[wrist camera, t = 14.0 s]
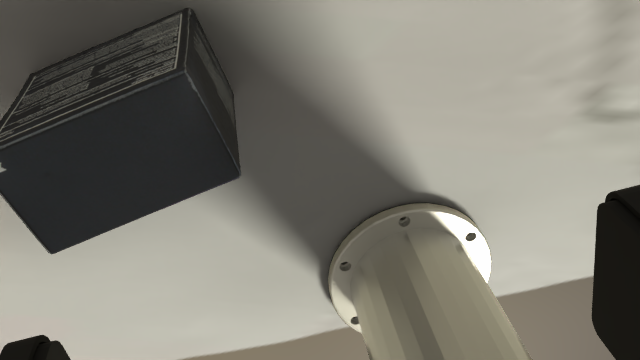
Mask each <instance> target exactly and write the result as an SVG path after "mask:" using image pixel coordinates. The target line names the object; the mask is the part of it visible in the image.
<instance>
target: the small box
mask: <svg viewBox="0 0 640 360" xmlns="http://www.w3.org/2000/svg"><path fill="white" fill-rule="evenodd" d="M240 176H241V170H240V164H239V153H238V143H237V134H236V120H235V110H234V94H233V92H232V90H231V88H230V86H229V83H228V81H227V79H226V77H225V75H224V72H223V71H222V69H221V67H220V64H219V62H218V60H217V58H216V56H215V54H214V52H213V50H212V48H211V46H210V44H209V42H208V40H207V38H206V36H205V34H204V31H203V29H202V27H201V25H200V23H199V21H198V19H197V17H196V15H195V13H194V11H193V10H192V9H190V8H186V9H184V10H182V11H179V12H177V13H174V14H172V15H169V16H167V17H165V18H162V19H160V20H157V21H155V22H153V23H150V24H148V25H146V26H143V27H141V28H138V29H135V30H133V31H131V32H129V33H127V34H124V35H122V36H119V37H117V38H115V39H113V40H110V41H108V42H105V43H103V44H101V45H98V46H96V47H92V48H90V49H88V50H86V51H83V52H82V53H79V54H77V55H74V56H72V57H69V58H67V59H65V60H63V61H60V62H58V63H56V64H54V65H51V66H49V67H47V68H44V69H42V70H40V71H38V72H35V73H32V74H30V76H29V78H28V80H27V81H26V83H25V85H24V86H23V88H22V90H21V91H20V93H19V95H18V96H17V97H16V99H15V101H14V102H13V104H12V105H11V107H10V108H9V110H8V112H7V113H6V114H5V115H4V116H3V118H2V119H1V121H0V195H1V196H2V197H3V198H4V199H5V201H6V202H7V203H8V204H9V205H10V207H11V208H12V209H13V210H14V211H15V213H16V214H17V215H18V217H19V218H20V219H21V220H22V221H23V223H24V224H25V225H26V227H27V228H28V229H29V230H30V231H31V232H32V233H33V235H34V236H35V237H36V238H37V240H38V241H39V242H40V243H41V244H42V246H43V247H44V248H45V249H46V250H47V252H48V253H50V254H55V253H57V252H59V251H61V250H64V249H66V248H69V247H71V246H74V245H76V244H79V243H81V242H84V241H86V240H88V239H91V238H93V237H95V236H98V235H100V234H103V233H105V232H107V231H110V230H112V229H115V228H117V227H120V226H122V225H124V224H127V223H129V222H132V221H134V220H137V219H139V218H141V217H144V216H146V215H149V214H151V213H153V212H156V211H158V210H161V209H163V208H166V207H168V206H171V205H173V204H176V203H178V202H181V201H183V200H185V199H188V198H190V197H193V196H195V195H198V194H200V193H203V192H205V191H208V190H210V189H213V188H215V187H217V186H220V185H222V184H225V183H228V182H230V181H232V180H235V179H237V178H239V177H240Z"/></svg>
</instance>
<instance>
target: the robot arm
mask: <svg viewBox="0 0 640 360" xmlns="http://www.w3.org/2000/svg"><path fill="white" fill-rule="evenodd" d="M490 272H491V254H490V248H489V246H488V243H487V241H486V239H485V237H484V235H483V234H482V232H481V231H480V229H479V228H478V226H477V225H476V224H475V223H474V222H473V221H472V220H471V219H470V218H469V217H467V216H466V215H464V214H462V213H461V212H459V211H457V210H455V209H452V208H449V207H446V206H444V205H437V204H430V203H418V204H408V205H403V206H397V207H394V208H391V209H388V210H386V211H383V212H380V213H378V214H377V215H375V216H373V217H371V218H369V219H367V220H366V221H364V222H363V223H362V224H360V225H359V226H358V227H357V228H355V229H354V230H353V231H352V232H351V233H350V234H349V235H348V236H347V237H346V238H345V239H344V240H343V242H342V243H341V245H340V246H339V248H338V249H337V251H336V253H335V254H334V257H333V260H332V262H331V265H330V269H329V276H328V284H329V292H330V296H331V300H332V304H333V306H334V308H335V310H336V312H337V314H338V315H339V316H340V317H341V319H342V320H343V321H344V322H345V323H346V324H347V325H349V326H350V327H351V328H353V329H354V330H355V331H358V332H360V333H362V334H363V338H364V341H365V344H366V348H367V352H368V355H369V359H370V360H533V359H532V358H531V356H530V354H529V353H528V351H527V349H526V348H525V346H524V345H523V343H522V341H521V340H520V338H519V336H518V334H517V333H516V331H515V329H514V328H513V326H512V324H511V323H510V321H509V319H508V318H507V316H506V314H505V313H504V311H503V309H502V307H501V306H500V304H499V302H498V301H497V299H496V297H495V296H494V294H493V292H492V290H491V289H490V287H489V285H488V284H487V282H488V279H489V276H490ZM593 283H594V284H593V303H592V321H593V325H594V328H595V331H596V332H597V335H598V336H599V338H600V339H601V340H602V342H603V343H604V344H605V346H606V347H607V348H608V350H609V351H610V352H611V354H612V355H613V356H614V358H615V359H616V360H640V185H637V186H633V187H629V188H625V189H621V190H617V191H613V192H610V193H609V194H608V195H607V196H606V200H605V203H601V204H599V206H598V210H597V225H596V244H595V263H594V282H593ZM0 360H71V359H70V358H69V356H68V354H67V353H66V351H65V349H64V348H63V346H62V345H61V343H60V342H58V341H50V340H49V338H48V337H46V336H44V335H39V336H35V337H31V338H27V339H23V340H19V341H15V342H11V343H8V344H7V345H5V346H4V348H3V350H2V351H1V354H0Z"/></svg>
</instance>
